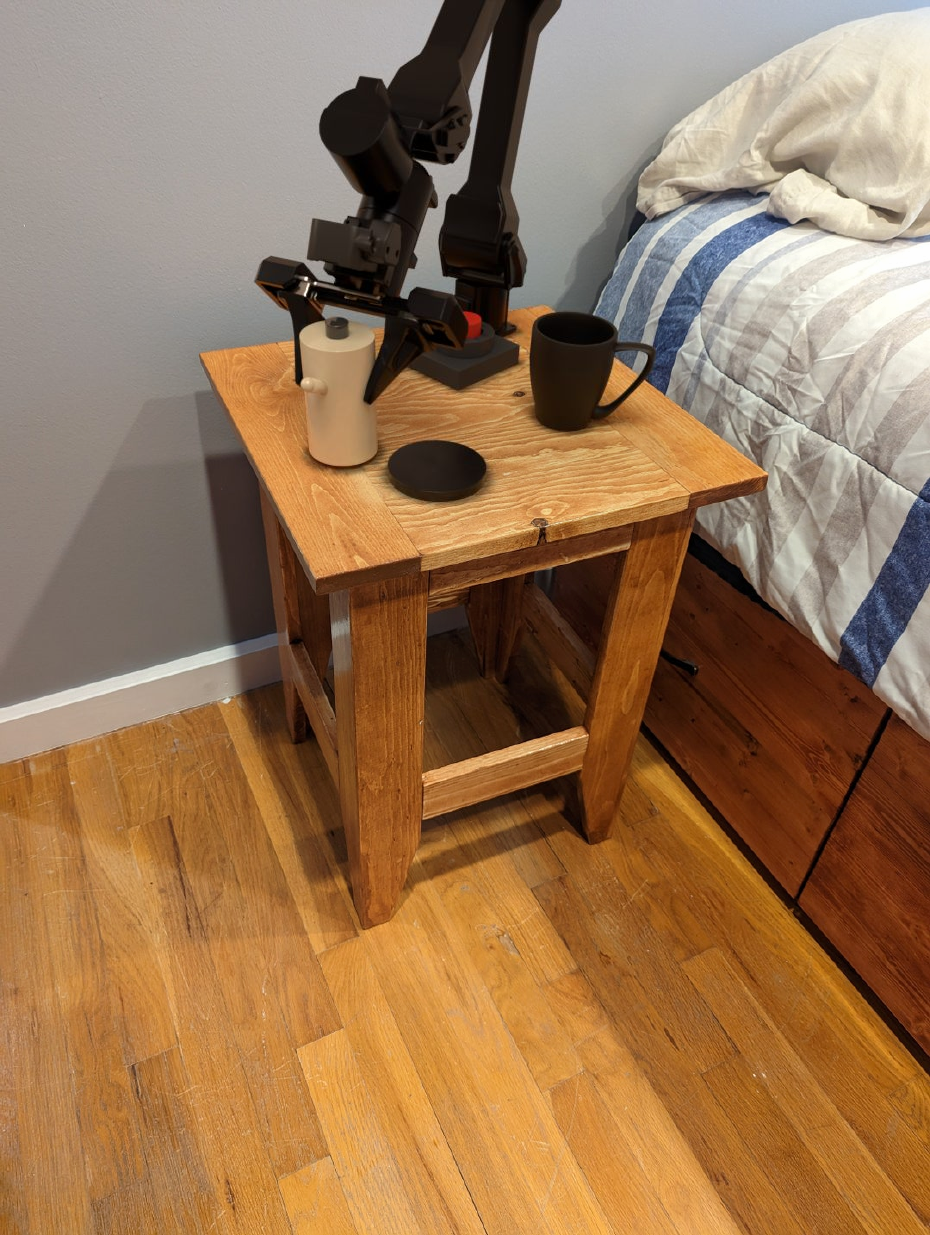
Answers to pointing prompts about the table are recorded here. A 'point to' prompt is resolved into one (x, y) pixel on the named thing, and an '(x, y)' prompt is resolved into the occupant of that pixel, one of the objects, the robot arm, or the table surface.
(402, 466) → the plate
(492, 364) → the switch block
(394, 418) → the table surface
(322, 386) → the cream cylinder
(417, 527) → the table surface
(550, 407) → the mug
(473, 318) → the stop button
